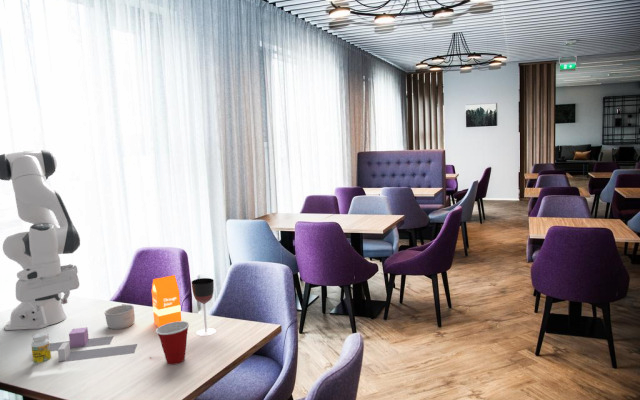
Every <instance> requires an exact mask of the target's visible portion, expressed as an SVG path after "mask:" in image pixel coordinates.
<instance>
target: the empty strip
mask: <svg viewBox="0 0 640 400" xmlns="http://www.w3.org/2000/svg"><path fill="white" fill-rule="evenodd" d="M65 342H66V341H65ZM137 346H138V343H134V344H127V345H125V344H124V345H118V346H110V347H102V348H92V349H85V350H77V351H71V349H70V344H69V342H66V343H63V344H62V345H61V346H60V348H59V349H58V351H57V354H58V363H66V362H74V361H80V360H81V361H83V360H90V359H97V358H98V359H99V358H105V357H106V358H107V357H113V356H114V357H115V356H119V355H120V356H122V355H129V354H135V352H136V349H137Z"/></svg>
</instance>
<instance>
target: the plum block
mask: <svg viewBox="0 0 640 400" xmlns="http://www.w3.org/2000/svg"><path fill="white" fill-rule="evenodd" d="M68 337H69V338H68V339H69V341H70V347H78V346H85V345H86V344H87V342H88V341H89V339H90V338H89V331H88V327H79V328H73V329H71V331H70V332H69V333H68Z"/></svg>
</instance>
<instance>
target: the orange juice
mask: <svg viewBox="0 0 640 400" xmlns="http://www.w3.org/2000/svg"><path fill="white" fill-rule="evenodd" d="M151 297H152V298H151V299H152V300H151V301H152V311H153V322H154V324H155V325H156V326H157V328H159V327H160V326H162V325H165V324H168V323H171V322H177V321H182V312H181V311H182V310H181V309H182V307H181V299H180V297H181V296H180V289H179V285H178V281H177V277H176V275H175V274H173V275H169V276H168V275H167V276H163V277H158V278H153V279H152V287H151Z"/></svg>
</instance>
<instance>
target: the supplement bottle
mask: <svg viewBox="0 0 640 400" xmlns="http://www.w3.org/2000/svg"><path fill="white" fill-rule="evenodd" d="M46 334H47V333H45V332H43V333H42V332H41V333H37V334H35V335H32V341H33V342H31V345H30V346H31V354H32V361H33V362H32V363H33V364H34V366H36V365H37V364H38V363H43V362H44V363H45V362H47V361H49V360H51V359H52V351H50V340H48V339H46Z"/></svg>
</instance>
